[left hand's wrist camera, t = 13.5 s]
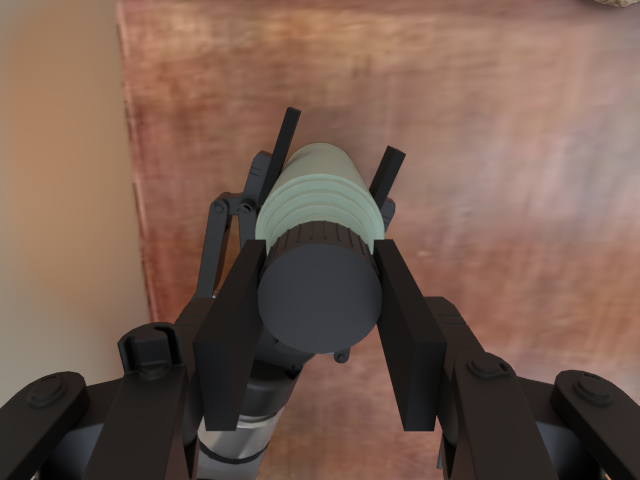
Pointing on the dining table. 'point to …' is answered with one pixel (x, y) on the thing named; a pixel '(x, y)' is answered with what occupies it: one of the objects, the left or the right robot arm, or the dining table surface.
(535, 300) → the dining table surface
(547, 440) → the left robot arm
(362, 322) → the cap
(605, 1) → the rock
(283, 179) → the bottle
